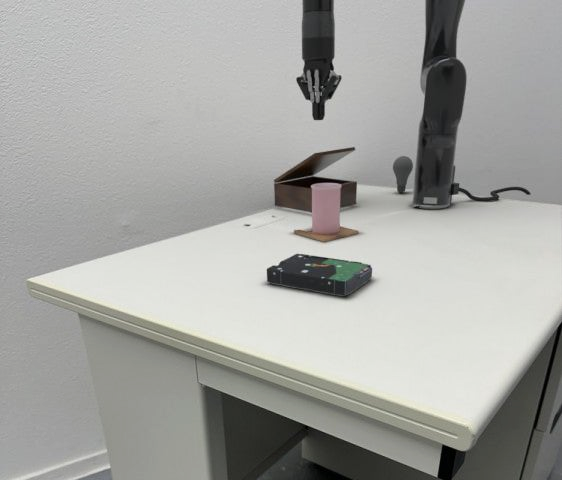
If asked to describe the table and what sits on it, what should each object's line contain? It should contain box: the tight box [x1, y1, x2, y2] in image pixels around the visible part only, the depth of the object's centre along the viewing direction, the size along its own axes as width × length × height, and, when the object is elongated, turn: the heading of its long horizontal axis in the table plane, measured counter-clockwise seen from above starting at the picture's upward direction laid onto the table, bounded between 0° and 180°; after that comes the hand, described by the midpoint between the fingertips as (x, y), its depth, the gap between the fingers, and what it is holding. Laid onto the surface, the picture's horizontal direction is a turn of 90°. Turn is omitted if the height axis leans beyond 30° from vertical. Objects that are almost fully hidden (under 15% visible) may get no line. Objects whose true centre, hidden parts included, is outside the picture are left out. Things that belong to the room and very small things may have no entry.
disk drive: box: [266, 253, 373, 297], centre depth 91 cm, size 10×3×15 cm
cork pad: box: [293, 226, 359, 243], centre depth 119 cm, size 10×10×1 cm
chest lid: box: [273, 146, 356, 184], centre depth 138 cm, size 16×15×1 cm
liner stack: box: [311, 183, 341, 234], centre depth 117 cm, size 6×6×10 cm
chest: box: [273, 175, 358, 213], centre depth 142 cm, size 16×15×6 cm
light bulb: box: [392, 155, 414, 194], centre depth 154 cm, size 6×6×10 cm
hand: (318, 119), depth 132 cm, fingers closed
